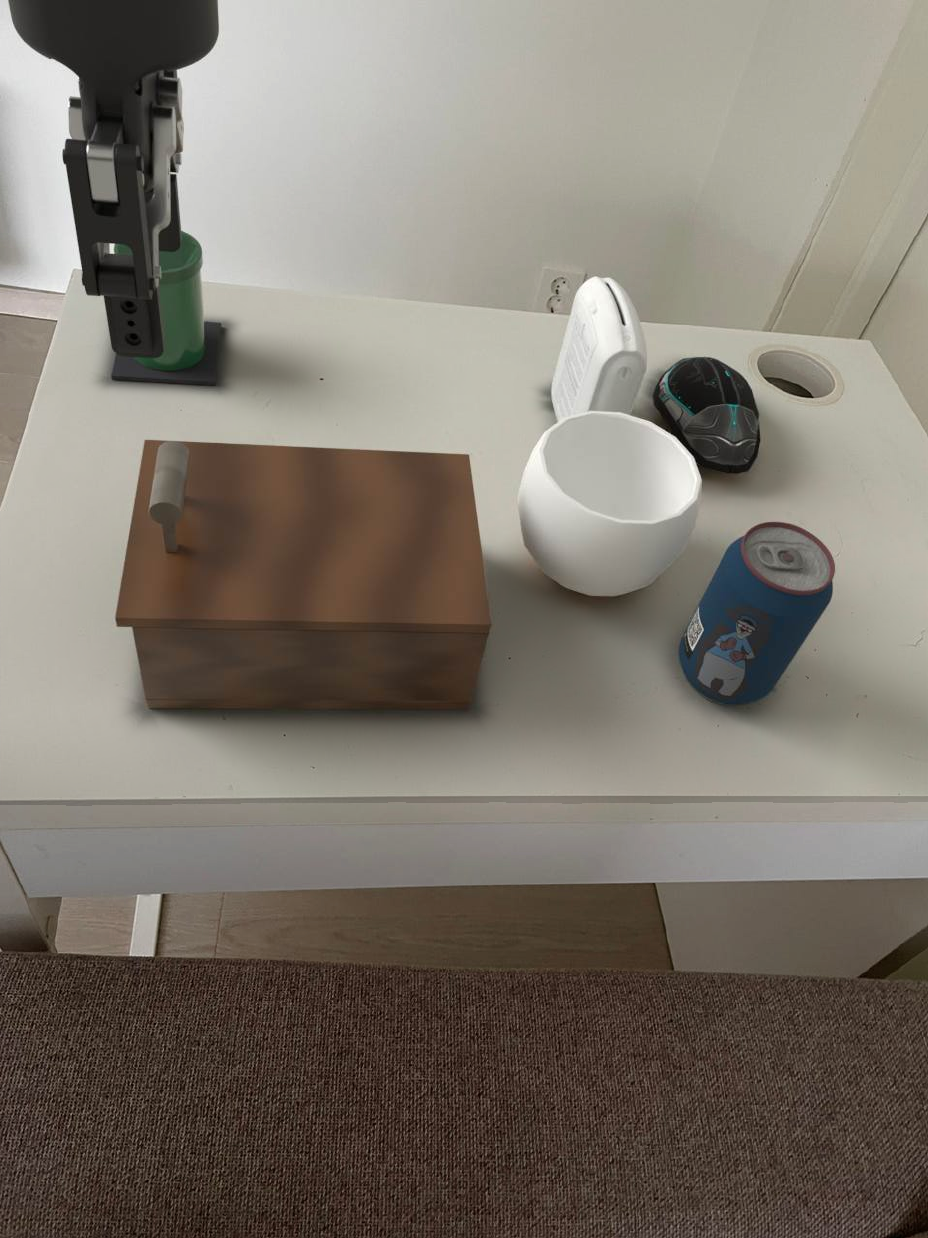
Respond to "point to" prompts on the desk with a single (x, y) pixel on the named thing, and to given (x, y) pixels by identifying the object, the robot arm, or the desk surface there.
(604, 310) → the photo printer
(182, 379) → the mat
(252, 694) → the wooden box
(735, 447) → the computer mouse
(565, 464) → the cup
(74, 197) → the robot arm
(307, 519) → the lid
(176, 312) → the green pot
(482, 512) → the desk surface
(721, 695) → the soda can
